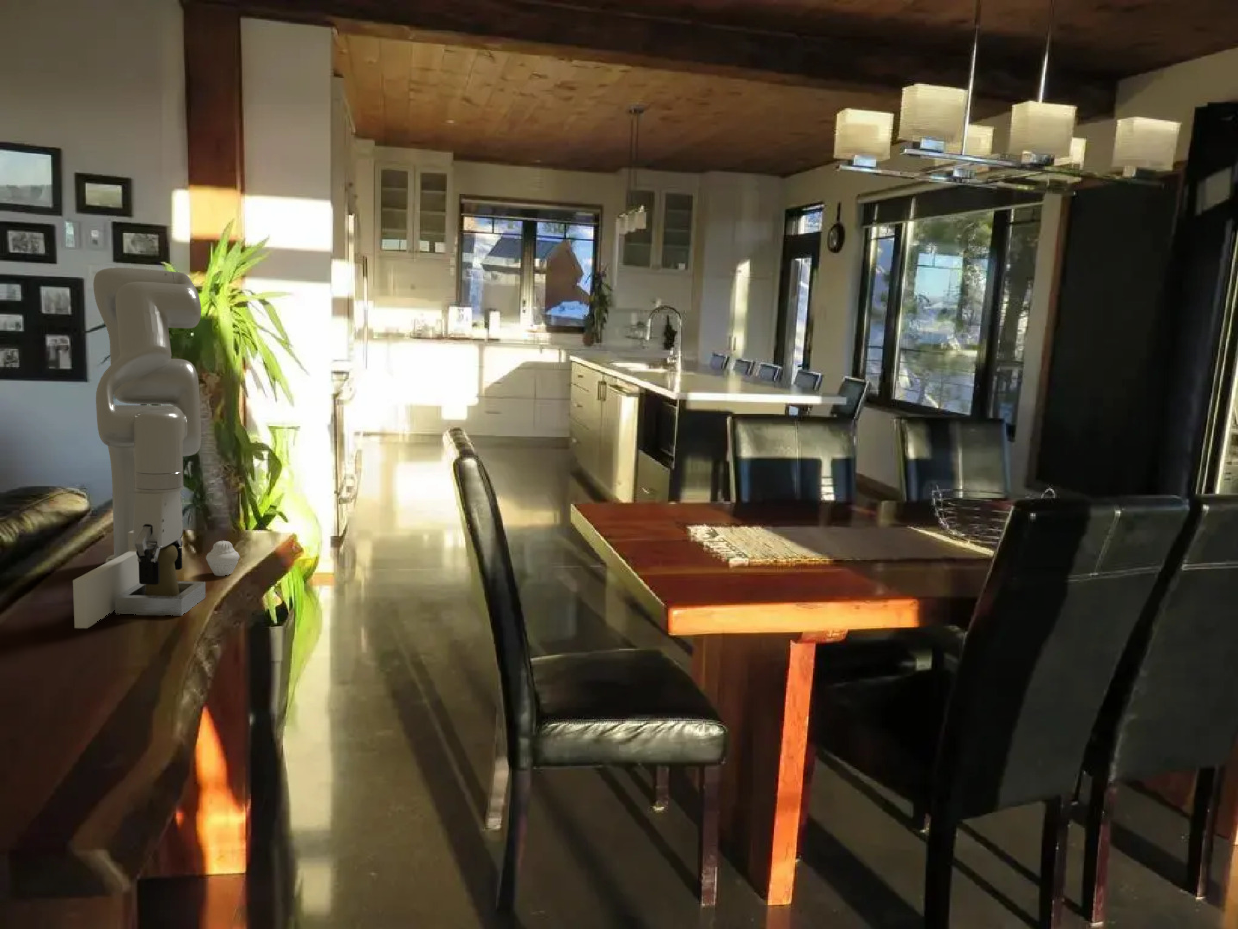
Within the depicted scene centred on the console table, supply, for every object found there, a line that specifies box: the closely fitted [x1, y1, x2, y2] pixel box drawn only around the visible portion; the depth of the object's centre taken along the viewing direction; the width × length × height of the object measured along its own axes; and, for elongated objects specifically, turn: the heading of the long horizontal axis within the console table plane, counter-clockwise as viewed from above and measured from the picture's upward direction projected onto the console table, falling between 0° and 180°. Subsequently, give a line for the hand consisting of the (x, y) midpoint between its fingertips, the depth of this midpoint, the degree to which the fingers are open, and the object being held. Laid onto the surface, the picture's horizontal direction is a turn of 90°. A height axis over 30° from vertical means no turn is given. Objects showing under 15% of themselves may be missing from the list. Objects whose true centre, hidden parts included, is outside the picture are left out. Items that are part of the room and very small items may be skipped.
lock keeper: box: [114, 580, 206, 617], centre depth 161 cm, size 11×11×3 cm
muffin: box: [205, 540, 240, 577], centre depth 183 cm, size 6×6×7 cm
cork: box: [145, 544, 180, 596], centre depth 161 cm, size 6×6×11 cm
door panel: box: [72, 531, 139, 629], centre depth 159 cm, size 25×4×11 cm, turn 5°
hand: (161, 576), depth 160 cm, fingers open, 9 cm apart
